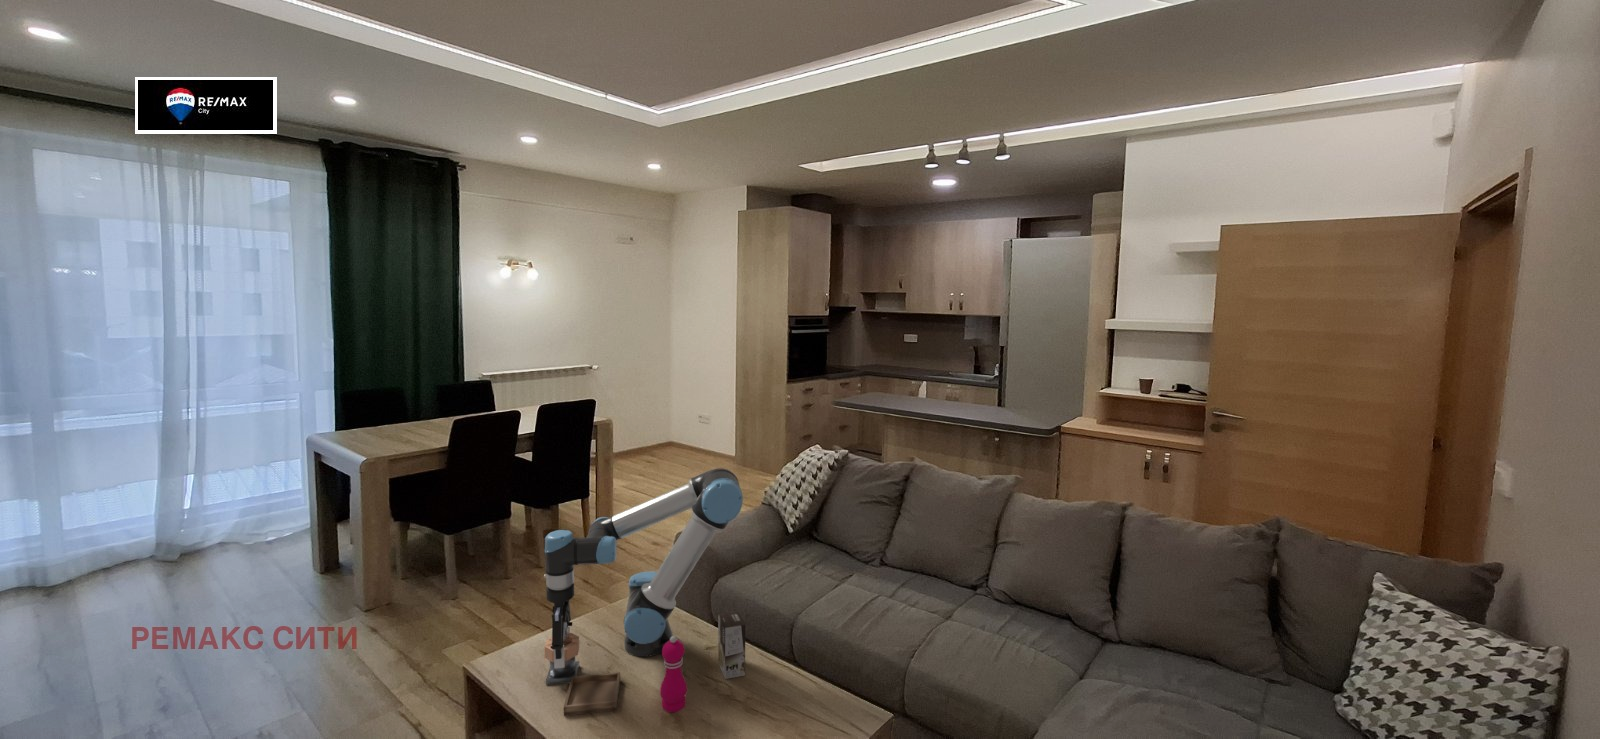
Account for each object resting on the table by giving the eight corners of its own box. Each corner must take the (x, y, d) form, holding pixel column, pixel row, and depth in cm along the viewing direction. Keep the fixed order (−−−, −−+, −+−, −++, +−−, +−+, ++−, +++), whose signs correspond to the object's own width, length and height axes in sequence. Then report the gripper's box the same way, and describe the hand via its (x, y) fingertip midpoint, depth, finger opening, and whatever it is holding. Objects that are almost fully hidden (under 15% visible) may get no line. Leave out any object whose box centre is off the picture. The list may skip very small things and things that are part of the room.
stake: (579, 665, 190) (577, 615, 188) (575, 681, 183) (573, 629, 181) (551, 668, 189) (549, 617, 187) (545, 684, 181) (544, 632, 179)
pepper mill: (674, 717, 168) (673, 646, 166) (654, 707, 172) (653, 638, 170) (692, 702, 175) (692, 634, 172) (673, 693, 178) (672, 626, 176)
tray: (620, 680, 184) (620, 672, 183) (616, 710, 171) (615, 701, 170) (571, 684, 181) (571, 676, 181) (563, 715, 168) (563, 707, 168)
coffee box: (745, 675, 187) (746, 624, 185) (724, 679, 185) (724, 628, 183) (738, 658, 196) (738, 609, 194) (717, 662, 193) (717, 612, 191)
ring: (580, 642, 190) (580, 632, 190) (576, 660, 181) (575, 648, 181) (549, 645, 188) (548, 634, 188) (542, 663, 180) (542, 651, 179)
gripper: (553, 569, 192) (555, 638, 195) (538, 604, 171) (541, 681, 174) (579, 567, 194) (581, 636, 196) (567, 601, 172) (569, 678, 175)
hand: (562, 657), depth 185 cm, fingers closed on ring, 9 cm apart
